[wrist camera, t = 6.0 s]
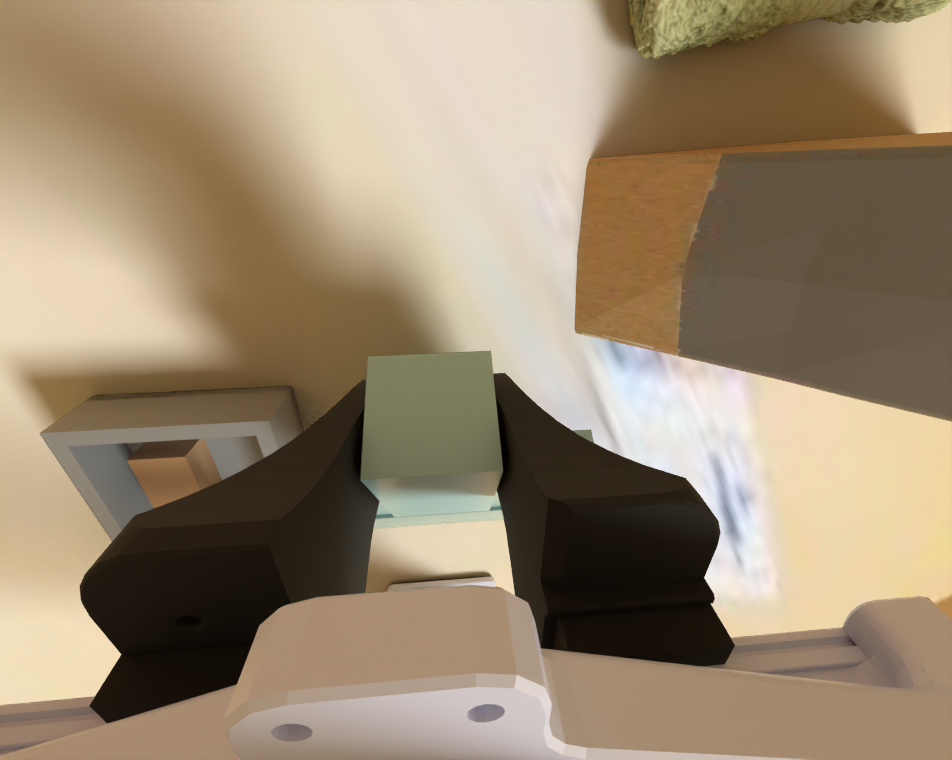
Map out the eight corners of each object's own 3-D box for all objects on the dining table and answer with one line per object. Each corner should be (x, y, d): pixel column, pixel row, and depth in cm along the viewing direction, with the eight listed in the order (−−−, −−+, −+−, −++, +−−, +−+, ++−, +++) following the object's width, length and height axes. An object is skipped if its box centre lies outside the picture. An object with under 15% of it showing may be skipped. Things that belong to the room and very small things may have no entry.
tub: (338, 558, 28) (327, 602, 26) (190, 569, 28) (162, 616, 25) (291, 386, 22) (269, 420, 19) (92, 396, 21) (39, 433, 18)
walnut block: (226, 489, 24) (211, 513, 22) (177, 492, 24) (158, 516, 22) (203, 435, 22) (184, 456, 20) (149, 438, 22) (126, 460, 20)
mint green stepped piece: (528, 499, 28) (534, 546, 26) (370, 510, 27) (368, 559, 26) (640, 343, 10) (675, 460, 9) (205, 363, 10) (170, 492, 8)
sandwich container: (582, 151, 17) (1008, 149, 4) (922, 131, 18) (2185, 78, 5) (569, 336, 22) (765, 617, 9) (844, 314, 22) (1418, 545, 9)
